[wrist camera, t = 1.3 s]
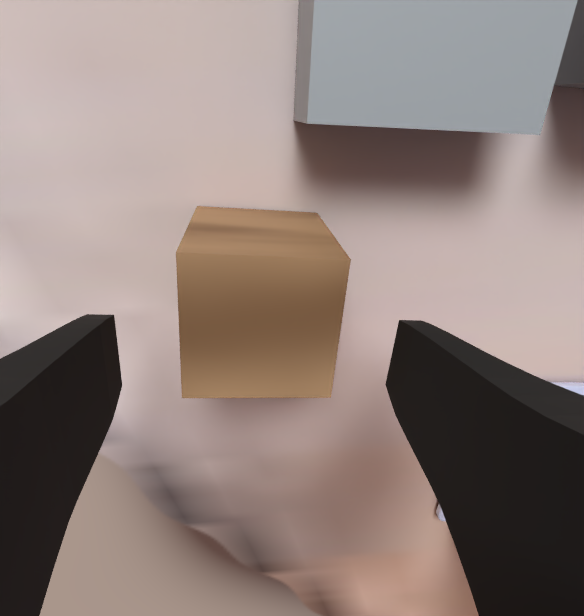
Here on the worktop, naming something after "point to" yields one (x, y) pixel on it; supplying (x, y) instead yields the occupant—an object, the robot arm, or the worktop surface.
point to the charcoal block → (573, 53)
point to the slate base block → (429, 63)
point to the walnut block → (259, 304)
